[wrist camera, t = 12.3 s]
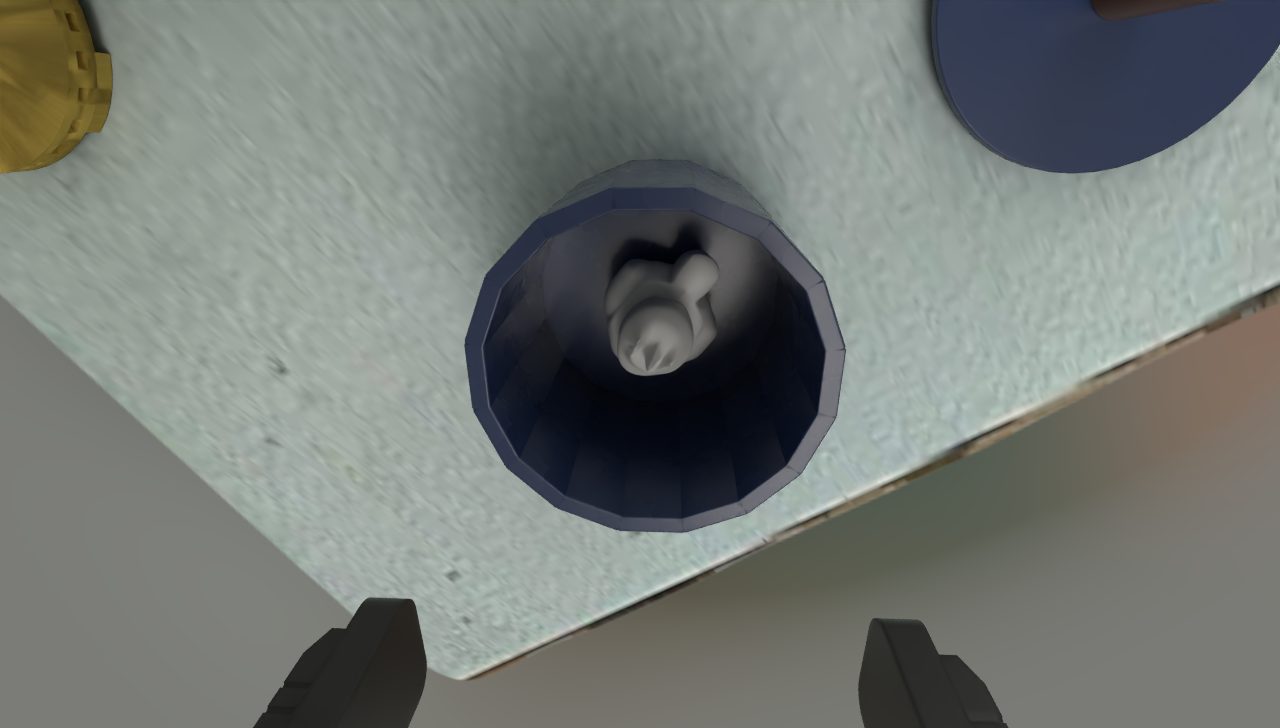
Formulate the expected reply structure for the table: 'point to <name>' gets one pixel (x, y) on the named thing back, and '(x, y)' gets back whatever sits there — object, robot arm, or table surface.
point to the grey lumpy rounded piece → (661, 312)
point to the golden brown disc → (48, 82)
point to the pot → (665, 403)
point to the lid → (1095, 73)
